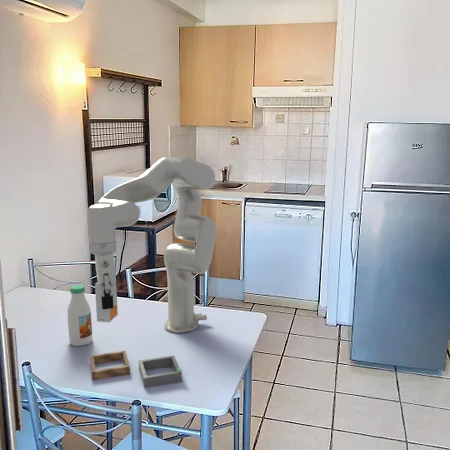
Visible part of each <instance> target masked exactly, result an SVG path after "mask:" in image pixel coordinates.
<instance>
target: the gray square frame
mask: <svg viewBox="0 0 450 450" xmlns="http://www.w3.org/2000/svg"><path fill="white" fill-rule="evenodd" d="M168 367H169V368H170V367H172V370H173V371H170V372H164V373H159V374H152V375H147V372H146V371H148V370H155V369H161V368H168ZM138 371H139V375H140V378H141V382H142V386H143V389H146V388H151V387H158V386H164V385H170V384H175V383H181V382H183V380H182V379H183V373H182V368H180V366H179V364H178V361H177V358H176V357H175V355H168V356H161V357H154V358H147V359H140V360H138Z"/></svg>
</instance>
